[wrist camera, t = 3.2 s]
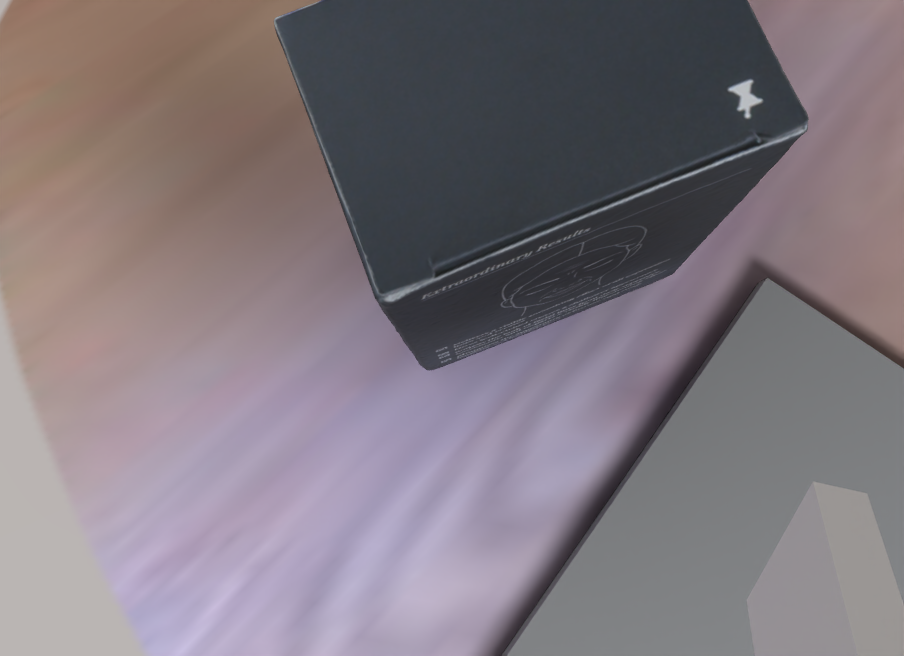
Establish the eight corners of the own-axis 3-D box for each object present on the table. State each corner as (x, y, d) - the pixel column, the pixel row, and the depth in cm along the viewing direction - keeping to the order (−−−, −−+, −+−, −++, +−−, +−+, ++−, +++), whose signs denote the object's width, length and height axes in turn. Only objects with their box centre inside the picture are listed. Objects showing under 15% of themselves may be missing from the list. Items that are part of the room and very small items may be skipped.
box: (597, 107, 25) (683, -153, 14) (674, 277, 24) (826, 133, 13) (353, 201, 25) (261, 8, 14) (422, 377, 24) (377, 309, 13)
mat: (1239, 606, 22) (1268, 611, 21) (965, 1082, 20) (985, 1107, 20) (757, 283, 24) (767, 277, 23) (472, 697, 22) (472, 706, 21)
